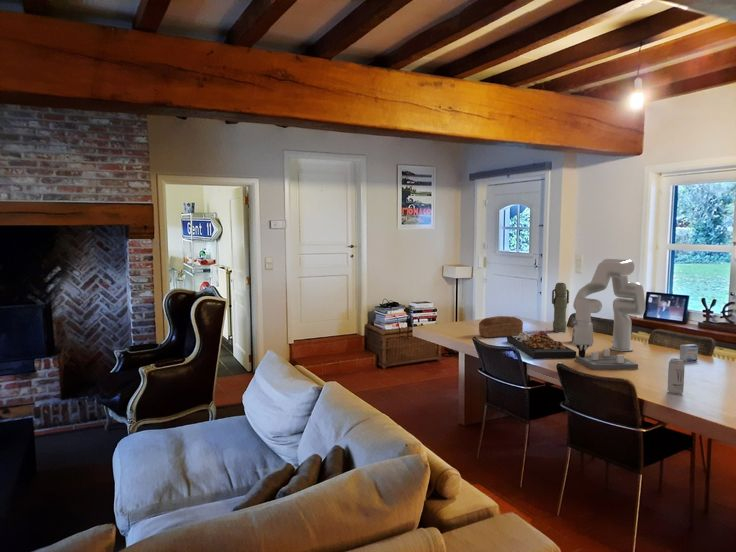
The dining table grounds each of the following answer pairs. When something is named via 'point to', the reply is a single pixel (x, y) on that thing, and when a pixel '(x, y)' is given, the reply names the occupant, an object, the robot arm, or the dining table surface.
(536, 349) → the food platter
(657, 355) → the dining table surface
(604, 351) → the handle
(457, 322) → the dining table surface
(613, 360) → the switch board
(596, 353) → the handle middle
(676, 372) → the energy drink can
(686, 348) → the medicine box
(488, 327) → the bread
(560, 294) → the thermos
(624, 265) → the robot arm
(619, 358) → the handle
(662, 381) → the dining table surface
